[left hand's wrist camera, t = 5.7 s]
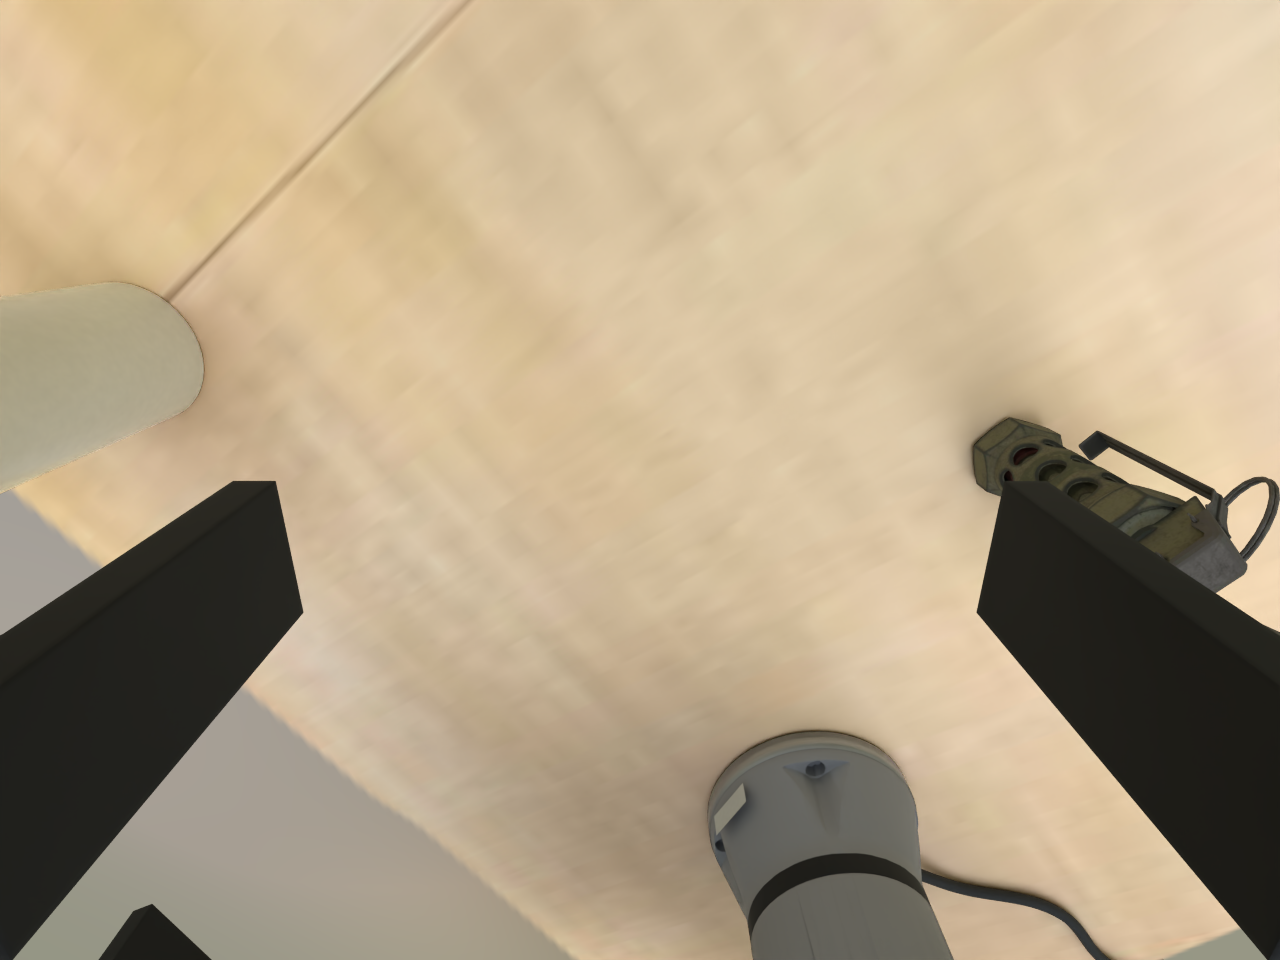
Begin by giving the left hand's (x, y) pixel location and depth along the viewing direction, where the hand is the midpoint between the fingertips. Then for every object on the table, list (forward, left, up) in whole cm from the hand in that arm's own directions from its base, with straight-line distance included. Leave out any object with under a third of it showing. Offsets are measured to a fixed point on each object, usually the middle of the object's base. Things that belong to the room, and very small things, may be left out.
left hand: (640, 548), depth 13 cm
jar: (+2, -29, -28) cm, 40 cm away
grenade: (+8, +24, -28) cm, 38 cm away
